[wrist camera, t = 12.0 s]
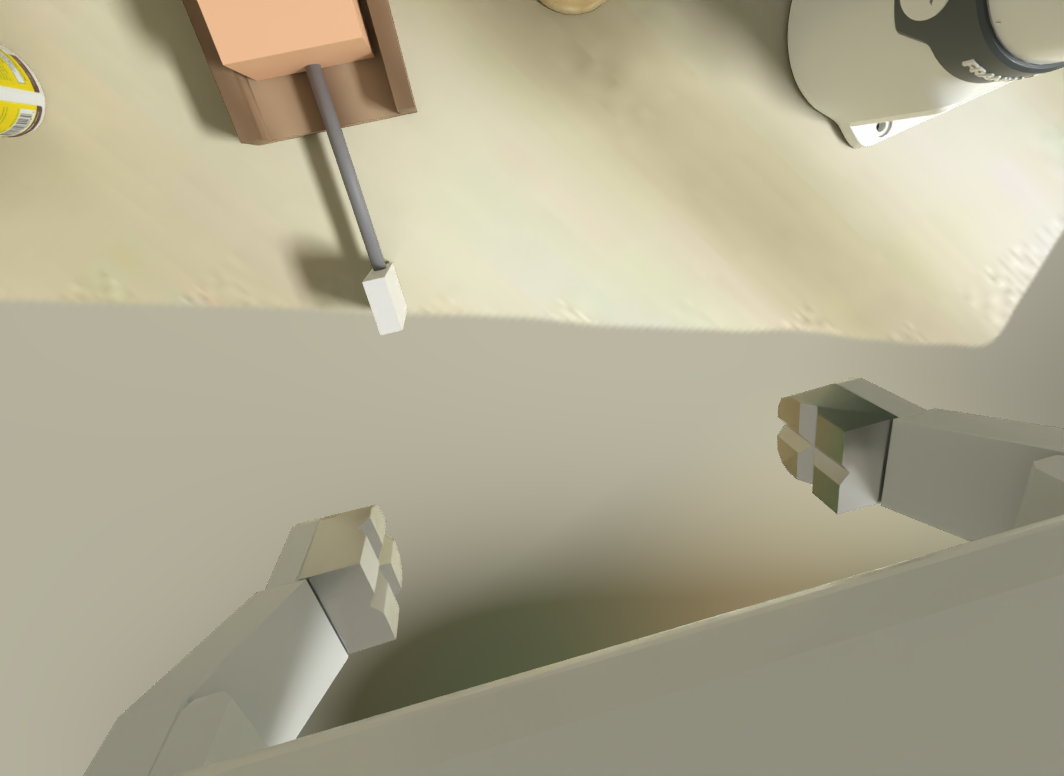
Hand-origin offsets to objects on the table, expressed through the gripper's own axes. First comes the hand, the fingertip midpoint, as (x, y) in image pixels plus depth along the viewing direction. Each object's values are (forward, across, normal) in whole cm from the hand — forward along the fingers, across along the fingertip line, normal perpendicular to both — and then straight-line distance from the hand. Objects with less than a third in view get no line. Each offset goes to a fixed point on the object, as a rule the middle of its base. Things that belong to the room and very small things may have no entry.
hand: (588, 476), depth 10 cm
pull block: (+34, +8, -8) cm, 36 cm away
